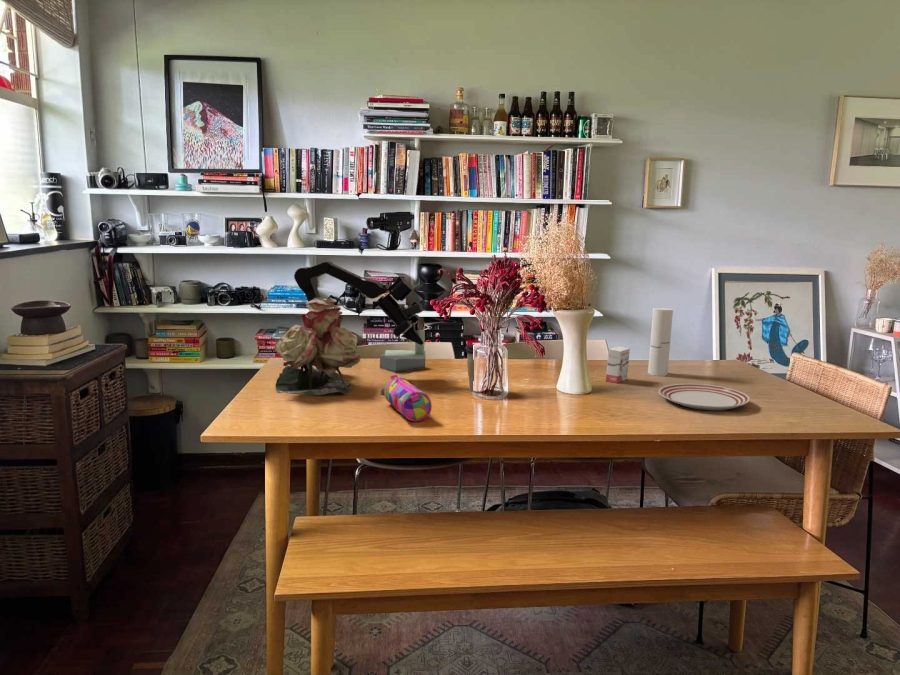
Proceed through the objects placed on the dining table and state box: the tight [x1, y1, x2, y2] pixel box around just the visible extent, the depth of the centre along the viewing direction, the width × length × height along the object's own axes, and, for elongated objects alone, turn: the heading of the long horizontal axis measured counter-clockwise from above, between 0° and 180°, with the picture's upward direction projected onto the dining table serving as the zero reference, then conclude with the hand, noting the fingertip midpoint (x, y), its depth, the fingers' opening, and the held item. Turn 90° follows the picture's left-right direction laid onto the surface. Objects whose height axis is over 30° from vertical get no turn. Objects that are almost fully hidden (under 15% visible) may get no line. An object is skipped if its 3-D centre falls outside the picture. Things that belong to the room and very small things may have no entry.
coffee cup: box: [465, 343, 475, 392], centre depth 221 cm, size 9×9×15 cm
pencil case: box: [380, 374, 432, 422], centre depth 194 cm, size 22×9×9 cm, turn 23°
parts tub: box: [379, 353, 426, 374], centre depth 251 cm, size 10×14×5 cm
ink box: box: [605, 345, 631, 384], centre depth 240 cm, size 9×5×12 cm, turn 143°
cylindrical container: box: [647, 307, 674, 377], centre depth 251 cm, size 7×7×25 cm
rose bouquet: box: [273, 296, 361, 396], centre depth 218 cm, size 26×29×30 cm
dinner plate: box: [658, 383, 751, 411], centre depth 214 cm, size 28×27×3 cm
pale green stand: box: [383, 329, 426, 360], centre depth 231 cm, size 10×14×9 cm
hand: (423, 343), depth 231 cm, fingers closed on pale green stand, 3 cm apart
